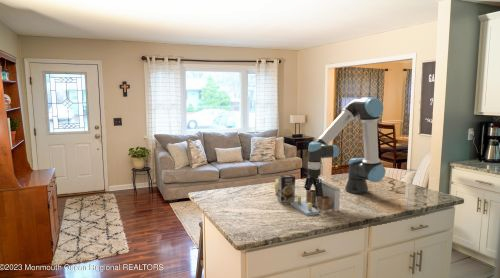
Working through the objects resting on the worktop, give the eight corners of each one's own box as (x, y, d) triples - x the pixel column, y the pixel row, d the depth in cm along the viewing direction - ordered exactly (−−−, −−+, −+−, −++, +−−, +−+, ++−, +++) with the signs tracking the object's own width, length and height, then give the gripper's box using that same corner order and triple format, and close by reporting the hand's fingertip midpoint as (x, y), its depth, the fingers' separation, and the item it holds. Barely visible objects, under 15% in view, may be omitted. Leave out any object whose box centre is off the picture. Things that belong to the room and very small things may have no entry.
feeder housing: (322, 201, 208) (323, 180, 206) (338, 210, 191) (339, 188, 190) (317, 202, 207) (318, 181, 205) (334, 211, 190) (334, 189, 188)
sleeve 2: (326, 208, 195) (326, 195, 194) (331, 212, 189) (331, 198, 188) (317, 209, 193) (318, 196, 192) (322, 213, 188) (323, 199, 186)
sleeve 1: (314, 202, 207) (315, 189, 206) (319, 204, 202) (319, 192, 200) (306, 203, 205) (307, 190, 204) (311, 205, 200) (311, 192, 199)
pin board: (302, 203, 205) (302, 194, 204) (319, 214, 186) (319, 204, 185) (290, 204, 202) (290, 195, 201) (306, 215, 183) (306, 206, 183)
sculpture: (291, 190, 231) (291, 175, 229) (291, 196, 219) (291, 180, 218) (274, 190, 232) (274, 175, 231) (274, 195, 220) (274, 179, 219)
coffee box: (281, 203, 205) (281, 177, 202) (277, 199, 211) (278, 174, 209) (294, 201, 207) (295, 176, 205) (290, 198, 213) (291, 174, 211)
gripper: (299, 164, 210) (298, 198, 213) (318, 173, 188) (317, 210, 191) (310, 164, 212) (308, 197, 215) (330, 172, 191) (328, 209, 193)
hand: (312, 203), depth 203 cm, fingers open, 11 cm apart
